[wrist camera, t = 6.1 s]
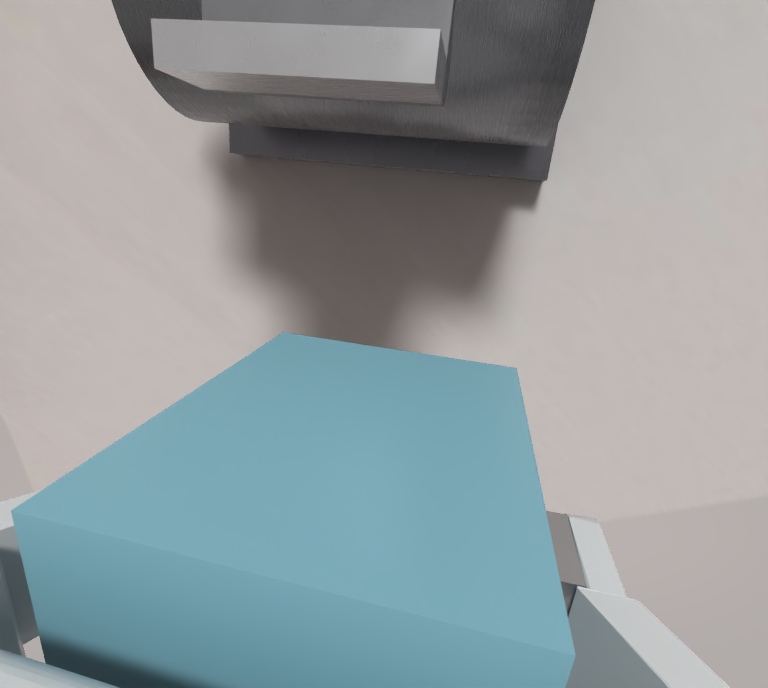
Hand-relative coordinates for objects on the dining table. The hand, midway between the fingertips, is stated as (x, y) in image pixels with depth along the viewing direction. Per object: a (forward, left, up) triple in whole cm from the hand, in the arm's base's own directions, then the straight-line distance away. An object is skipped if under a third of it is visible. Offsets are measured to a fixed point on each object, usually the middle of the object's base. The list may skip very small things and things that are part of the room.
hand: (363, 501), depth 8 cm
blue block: (0, 0, -2) cm, 2 cm away
